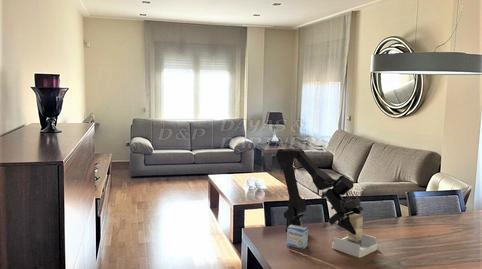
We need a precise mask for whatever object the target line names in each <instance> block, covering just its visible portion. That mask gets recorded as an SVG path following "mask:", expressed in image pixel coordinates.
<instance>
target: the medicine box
mask: <svg viewBox="0 0 482 269" xmlns="http://www.w3.org/2000/svg"><path fill="white" fill-rule="evenodd" d="M286 232H287V233H286V234H287V235H286V247H287V248H288V247H294V248H299V249H306V248H307V247H308V241H309V240H308V239H309V238H308V237H309V227H306V226H303V225H302V226H296V225H290V226H289V227H288V228H287V231H286Z"/></svg>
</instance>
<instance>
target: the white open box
mask: <svg viewBox="0 0 482 269" xmlns="http://www.w3.org/2000/svg"><path fill="white" fill-rule="evenodd" d="M331 245H332V246H331V249H333V250H336V251H339V252H342V253H345V254H346V255H350V256H354V257H356V258H359V259H361V258H363V257H365V256H367V255H369V254H370V253H373V252H375V251H377V250H378V243H377V237H376V236H373V235H372V236H371V235H368V234H365V233H362V242H361V246H360V245H358V244H355V243H352V242H349V241H348V235H347V236H345V237H343V238H339V237H336V236H333V242H331Z"/></svg>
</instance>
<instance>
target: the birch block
mask: <svg viewBox="0 0 482 269" xmlns="http://www.w3.org/2000/svg"><path fill="white" fill-rule="evenodd" d="M349 216H350V223H351V225H352V226H353V228H354V230H355V232H356V234H355V235H354V234H352V233H351V232H349V231H347V236H348V241H349V242H352V243H355V244H358V245H360V246H361V242H362V234H363V221H364V220H363V219H364V217H363V216H364V215H361V214H359V215H358V214H352V215H349Z"/></svg>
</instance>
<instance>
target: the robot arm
mask: <svg viewBox="0 0 482 269" xmlns="http://www.w3.org/2000/svg"><path fill="white" fill-rule="evenodd" d="M275 158H276V160H277V163H278V164H279V165H280V167H281V168H282V170H283V172H282V173H283V175H284V180H285V183H286V184H285V185H286V189H287V193H288V196H289V197H288V201H287V210H286V211H284V212H283V217H284V219H286V225H285V226H286V228H285V230H286V231H285V232H287V228H288V227H289V226H290V225H296V226H302V227H303V220H302V218H303V217H304V215H305V213H306V211H307V207H308V205H307V203H306V199H305V197H304V198H302V196H301V195H300V191H299V187H298V183H297V178H296V174H295V173H296V172H295V170H294V162H295V160H296V161H297V162H298V163H299V164H300V165H301V166H302V167H303V169H304V170H305V171H306V172H307V173H308V174H309V176H310V177H311V179H312V183H313V185H314V186H315V188H316V189H317V190H319V191H322V192H321V199H327V201H328V203H329V204H330V205H331V207H330V209H331V210H332V211H333V210H334V211H335V213H334V214H333V215H332V216H330V217H329V218H328V223H329V224H330V226H334V225H337V226H339V227H341V228H343V229H344V230H346V231H347V232H348V231H349V232H351V233H352V234H354V235H355V234H356V232H355V230H354V228H353V226H352V225H351V223H350V216H349V215H352V214H358V215H361V213H363V212H364V211H365V210H364V208H363V206H361V202H362V200H361V199H360V198H359V196H353V197H352V198H351V200H347V198H343V197H342V196H345V195H346V194H347V193H348V192H350V190H352V189H353V188H354V182H353V181H352V180H351V179H350V178H348V177H346V176H345V175H343V174H342V175H340V176H339V177H338V178H337V179H334V178H333V177H332V176H330V175H329V174H328V173H327V172H325V171H323V170H322V169H320V168H319V167H318V166H317V165H316V164H315V162H314V161H313V160H312V159H311V158H310V157H309V156H308V155H307V154H306V153H305V151H304V150H303V149H291V148H290V147H287V148H279V149H278V150H277V151H276V153H275ZM324 190H326V191H324ZM336 222H337V224H336Z"/></svg>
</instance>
